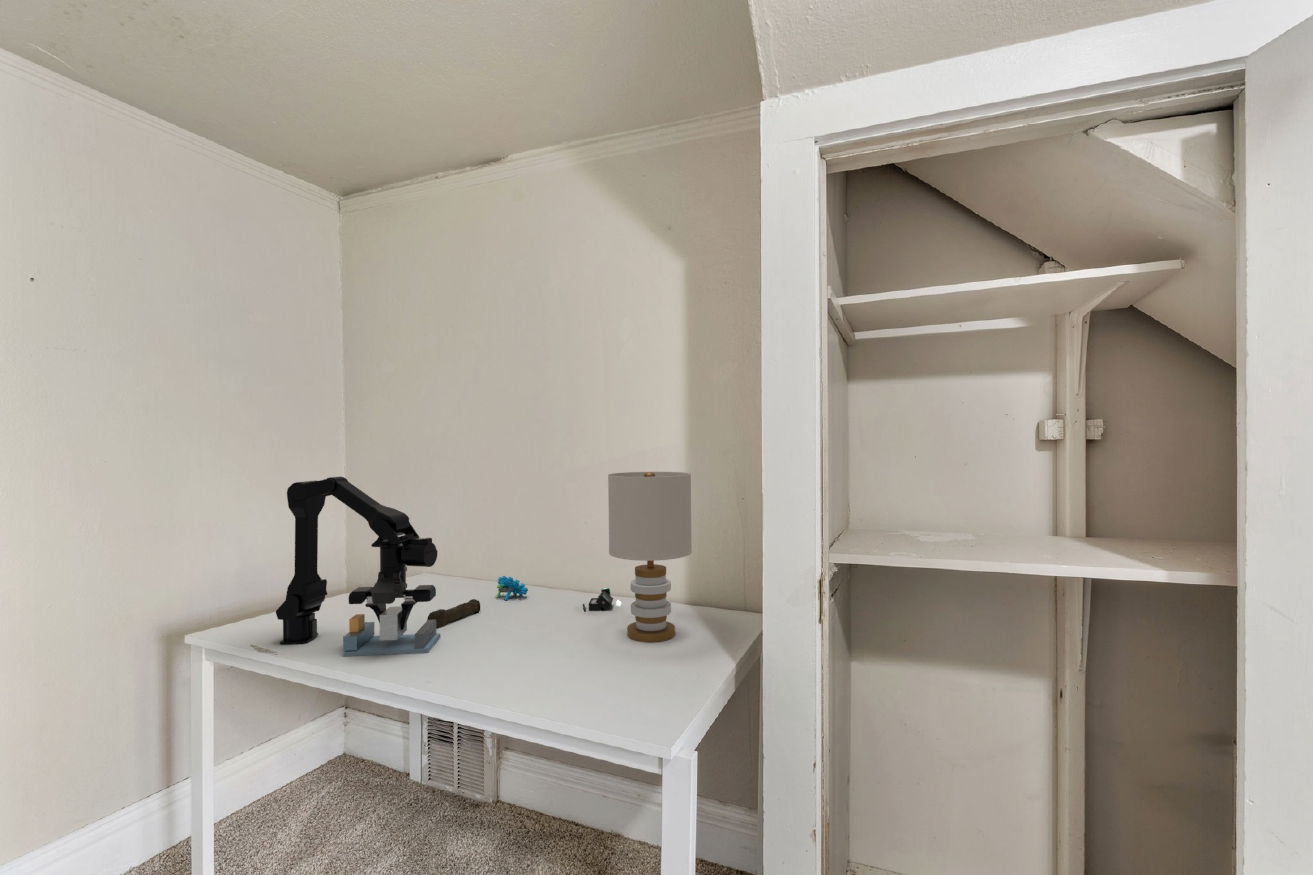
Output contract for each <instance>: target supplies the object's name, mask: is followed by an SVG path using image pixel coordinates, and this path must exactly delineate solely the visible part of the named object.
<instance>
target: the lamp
mask: <svg viewBox="0 0 1313 875" xmlns="http://www.w3.org/2000/svg"><path fill="white" fill-rule="evenodd" d="M607 475H608V477H607V478H608V480H607V481H608V482H607V483H608V486H607V488H608V489H607V490H608V494H607V498H608V554H609V556H611V557H613V558H617V559H621V560H628V561H643V562H646V564H640V565H636V566H635V567H634V576H635V577H634V578H635V579H632V580H631V581H630V592H632V593H634V596H635V601H633V602H631V603H630V613H631V615H633V616H635V617H634V618H635V621H633V622H632V623H629V624H628V625H627V626H626V628H627V631H626V632H627V633H626V634H627V638H629V639H631V640H633V641H637V642H641V643H660V642H665V641H668V640H671V639H673V638H674V637H675V636H676V626H675V624H674V623H672V622H669V621H667V619H668V616H669V615H670V614H671V613H672V603H671V602H670V601H668V600H667V596H668V595H667V593H668V592H670V591H672V581H671V580H670V579H667V566H665V565H663V564H657V563H655V561H668V560H674V559H675V560H676V559H680V558H685V557H687V556H690V555H692V552H693V548H692V546H693V545H692V473H690V472H684V471H683V472H681V471H631V472H629V471H628V472H627V471H625V472H615V473H613V472H612V473H609V474H607Z"/></svg>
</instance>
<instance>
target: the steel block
mask: <svg viewBox="0 0 1313 875" xmlns="http://www.w3.org/2000/svg"><path fill="white" fill-rule="evenodd" d="M401 618H402V607H401V605H400V606H389V607H388V608H386V610H385V611H384V612H383V613H382V614H380V623H379V636H380V640H398V639H399V638H400V637H401V636H402V635H405V633H406V632H407V630H408V628H407V627H408V626H407V625H408V623H406V626H405V628H404V630H401Z"/></svg>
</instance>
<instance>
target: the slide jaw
mask: <svg viewBox="0 0 1313 875" xmlns="http://www.w3.org/2000/svg"><path fill="white" fill-rule="evenodd" d="M365 618H366V617H365V613H363V614H362V613H361V614H355V615H353V616H352V617H350V618H348V619H349V620H348V621H349V624H348V625H349V630H348V631H349V632H347V633H346V634H345V635H344V636H342V642H343V645H342V647H343V648H342V649H343V650H342V651H343V652H344V651H349V650H358V649H359V648H360V647H361V646H362V645H363V644H364V643H366V642H367V641H368V640H369V639H370V638H371V637H372V636H375V621H367V622H366V620H365Z"/></svg>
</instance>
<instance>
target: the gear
mask: <svg viewBox="0 0 1313 875" xmlns="http://www.w3.org/2000/svg"><path fill="white" fill-rule="evenodd" d="M497 583H498V584H497V586H496V588H497V591H498V592H497V594H496V596H495V598H496V599H498V598H499V597H500V595H501V593H506V595H505V596H504V601H508V600H509V598H510V596H511V594H513V595H515V596H517V595H519V597H520V596H521V597H522V596H523V595H524V596H526V595H527V593H528V592H529V589H528V587H526V584H525V583H521V584H520V580H519V579H515V580H514V579H513V577H511V576H508V577H507V576H506V575H503V576H499V577H498V579H497Z"/></svg>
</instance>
